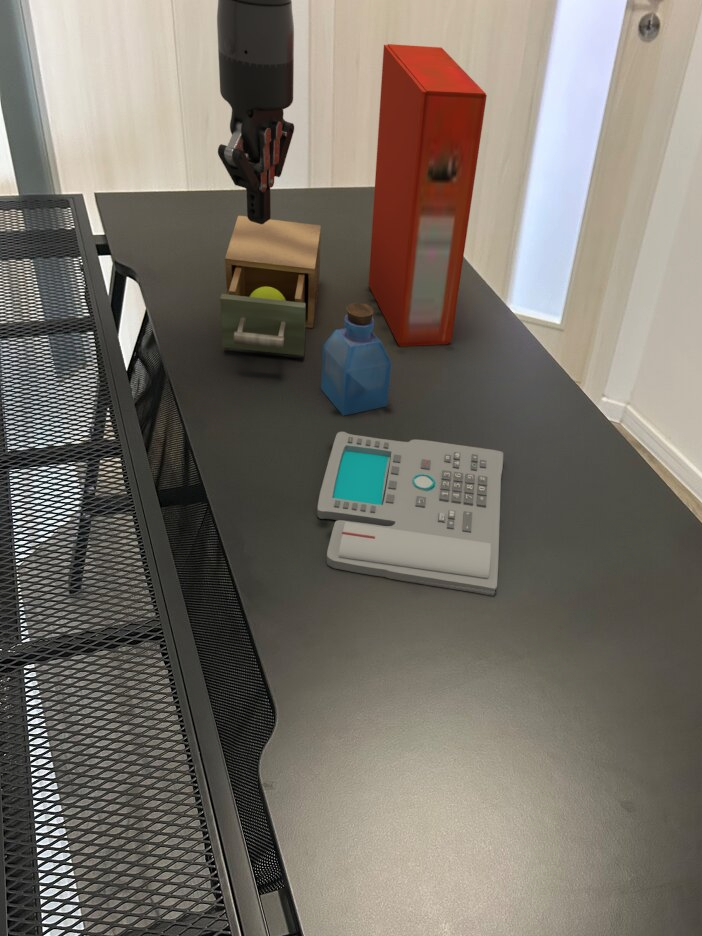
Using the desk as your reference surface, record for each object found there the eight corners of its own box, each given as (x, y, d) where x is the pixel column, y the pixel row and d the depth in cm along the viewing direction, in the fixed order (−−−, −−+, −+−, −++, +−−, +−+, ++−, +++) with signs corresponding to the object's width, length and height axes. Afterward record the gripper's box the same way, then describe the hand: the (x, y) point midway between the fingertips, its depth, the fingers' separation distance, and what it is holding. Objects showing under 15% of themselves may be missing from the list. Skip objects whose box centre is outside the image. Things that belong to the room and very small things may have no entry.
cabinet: (313, 328, 118) (314, 268, 112) (227, 319, 117) (224, 258, 111) (319, 282, 128) (321, 225, 122) (240, 273, 126) (238, 215, 120)
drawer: (301, 377, 108) (302, 328, 103) (217, 369, 107) (214, 319, 102) (310, 309, 120) (311, 262, 115) (235, 301, 119) (233, 253, 114)
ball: (244, 333, 111) (244, 296, 107) (249, 313, 115) (249, 276, 111) (285, 338, 112) (286, 301, 108) (288, 318, 116) (289, 282, 112)
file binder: (395, 346, 118) (422, 89, 95) (366, 286, 129) (384, 43, 106) (450, 344, 121) (489, 93, 98) (417, 285, 132) (445, 47, 109)
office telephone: (501, 579, 85) (302, 551, 84) (496, 597, 87) (302, 569, 86) (505, 442, 101) (338, 416, 100) (501, 459, 103) (337, 434, 102)
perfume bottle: (386, 406, 108) (396, 318, 99) (343, 415, 105) (348, 326, 96) (364, 380, 111) (371, 293, 103) (321, 389, 108) (324, 300, 100)
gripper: (256, 72, 81) (259, 250, 94) (318, 45, 90) (314, 211, 103) (187, 52, 82) (199, 231, 95) (255, 28, 92) (258, 194, 104)
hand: (259, 220), depth 99 cm, fingers closed
